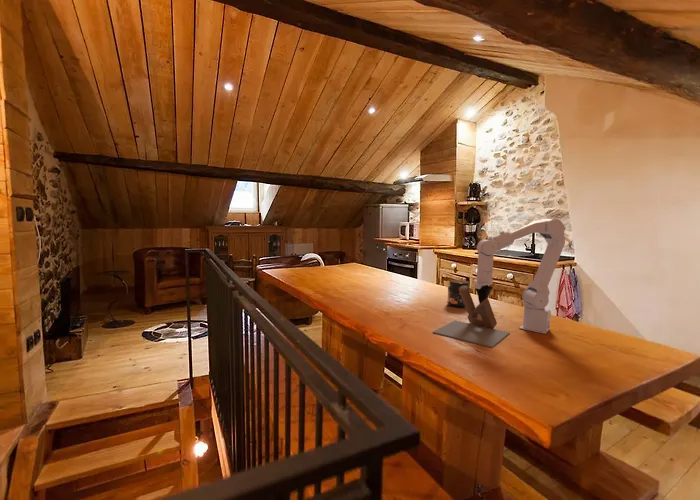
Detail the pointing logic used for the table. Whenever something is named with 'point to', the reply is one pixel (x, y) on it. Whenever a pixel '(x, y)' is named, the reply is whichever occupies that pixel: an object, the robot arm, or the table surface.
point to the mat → (472, 333)
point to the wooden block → (478, 310)
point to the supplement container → (456, 293)
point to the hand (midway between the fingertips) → (482, 304)
